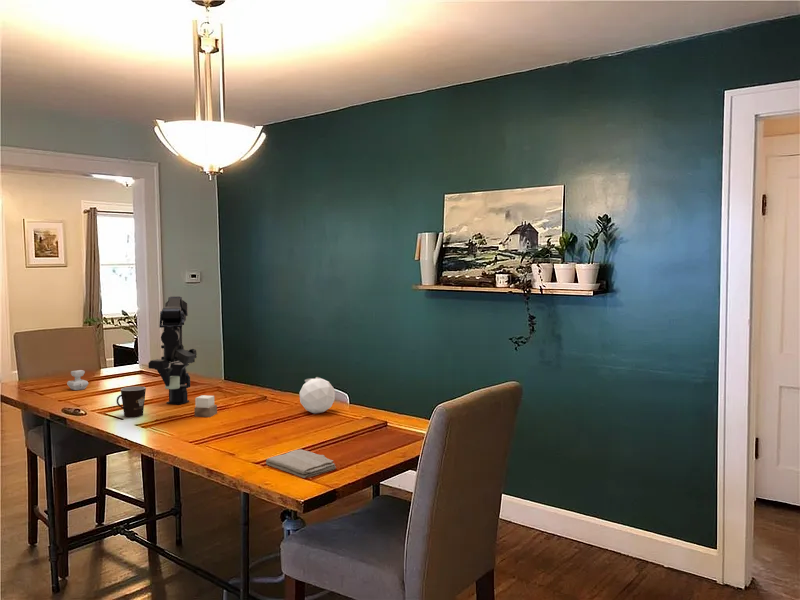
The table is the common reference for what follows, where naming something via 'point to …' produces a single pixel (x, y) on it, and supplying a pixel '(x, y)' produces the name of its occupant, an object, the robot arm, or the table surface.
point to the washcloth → (301, 463)
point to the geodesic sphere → (317, 395)
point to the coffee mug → (132, 401)
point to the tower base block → (205, 411)
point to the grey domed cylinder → (173, 383)
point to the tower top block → (204, 401)
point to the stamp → (77, 380)
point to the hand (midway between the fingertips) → (172, 385)
